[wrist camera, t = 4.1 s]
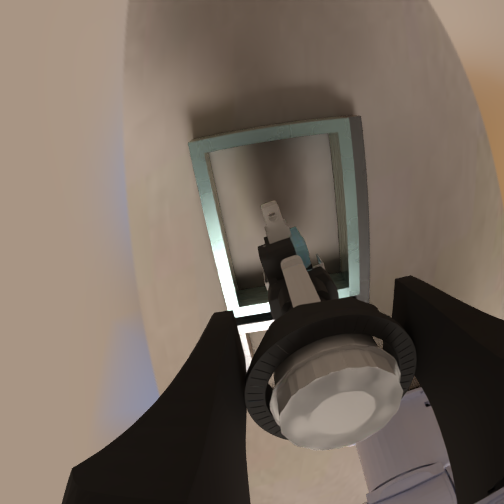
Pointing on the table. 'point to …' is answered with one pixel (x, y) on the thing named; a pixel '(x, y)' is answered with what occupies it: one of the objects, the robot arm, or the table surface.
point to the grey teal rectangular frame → (347, 203)
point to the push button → (321, 352)
